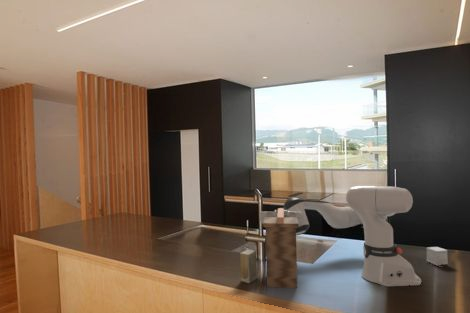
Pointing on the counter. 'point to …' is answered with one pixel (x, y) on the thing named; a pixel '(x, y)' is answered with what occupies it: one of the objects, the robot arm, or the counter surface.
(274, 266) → the pedestal
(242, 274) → the skincare box
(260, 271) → the counter surface
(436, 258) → the skincare box
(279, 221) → the bar
